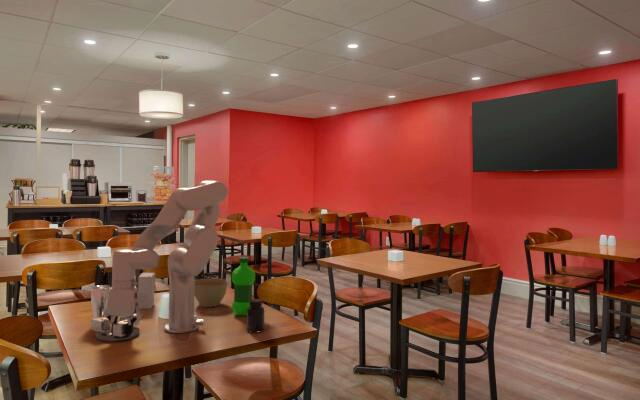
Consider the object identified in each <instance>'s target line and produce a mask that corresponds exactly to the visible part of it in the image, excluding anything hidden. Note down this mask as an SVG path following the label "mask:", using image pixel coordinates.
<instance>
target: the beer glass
mask: <svg viewBox="0 0 640 400" xmlns="http://www.w3.org/2000/svg"><path fill="white" fill-rule="evenodd" d="M110 288H111V286H110V285H109V284H104V285H103V284H100V285H94V286H92V287H91V292H90V293H91V294H90V295H91V297H90V303H91V309H92V313H93V314H92V315H93V317H92V318H96V317H99V316H100V317H104V318H107V317H106V316H104V315H103V312H104V311H105V310H106V308H107V303H108V296H109V291H110Z"/></svg>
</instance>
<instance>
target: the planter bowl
mask: <svg viewBox="0 0 640 400" xmlns="http://www.w3.org/2000/svg"><path fill="white" fill-rule="evenodd" d="M228 284H229V283H228V280H226V279H223V278H201V279H196V280H195V292H194V298H195V299H196V301H197V302H198V304H199V306H200V307H204V308H213V307H212V306H214V307H218V306H220V305H221V302H222V301H223V300H224V298H225V295H226V293H227V289H228ZM219 304H220V305H219ZM217 305H218V306H217Z"/></svg>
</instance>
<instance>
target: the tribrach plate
mask: <svg viewBox="0 0 640 400" xmlns="http://www.w3.org/2000/svg"><path fill="white" fill-rule="evenodd" d="M140 331H141V330H140V328H139V327H138V326H133V332H132V334H131V335H129V336H123V337H120V336H114V335H112V326H110V330H108V331H105V332H101V333H98V331H96V332H95V335H94V336H95V338H94V339H95V340H96V341H98V342H101V343H120V342H125V341H129V340H133V339H135V338H137V337H138V336H139V335H140Z"/></svg>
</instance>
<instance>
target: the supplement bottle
mask: <svg viewBox="0 0 640 400" xmlns="http://www.w3.org/2000/svg"><path fill="white" fill-rule="evenodd" d="M249 305H250V307H248V309H247V316H246V331H247V330H248V331H251V332H257V331H262V330H264V331H265V308H264V306H263V300H262V299H260V298H252V300H250V304H249ZM248 331H247V332H248ZM262 332H263V331H262Z"/></svg>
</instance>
